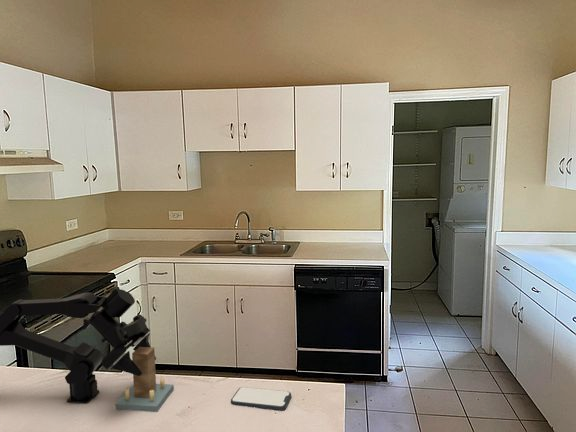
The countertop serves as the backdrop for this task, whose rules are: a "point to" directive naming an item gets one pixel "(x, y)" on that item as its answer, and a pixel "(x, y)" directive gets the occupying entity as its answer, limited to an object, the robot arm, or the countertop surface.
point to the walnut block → (144, 372)
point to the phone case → (261, 398)
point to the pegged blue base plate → (145, 403)
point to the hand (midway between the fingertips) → (148, 367)
